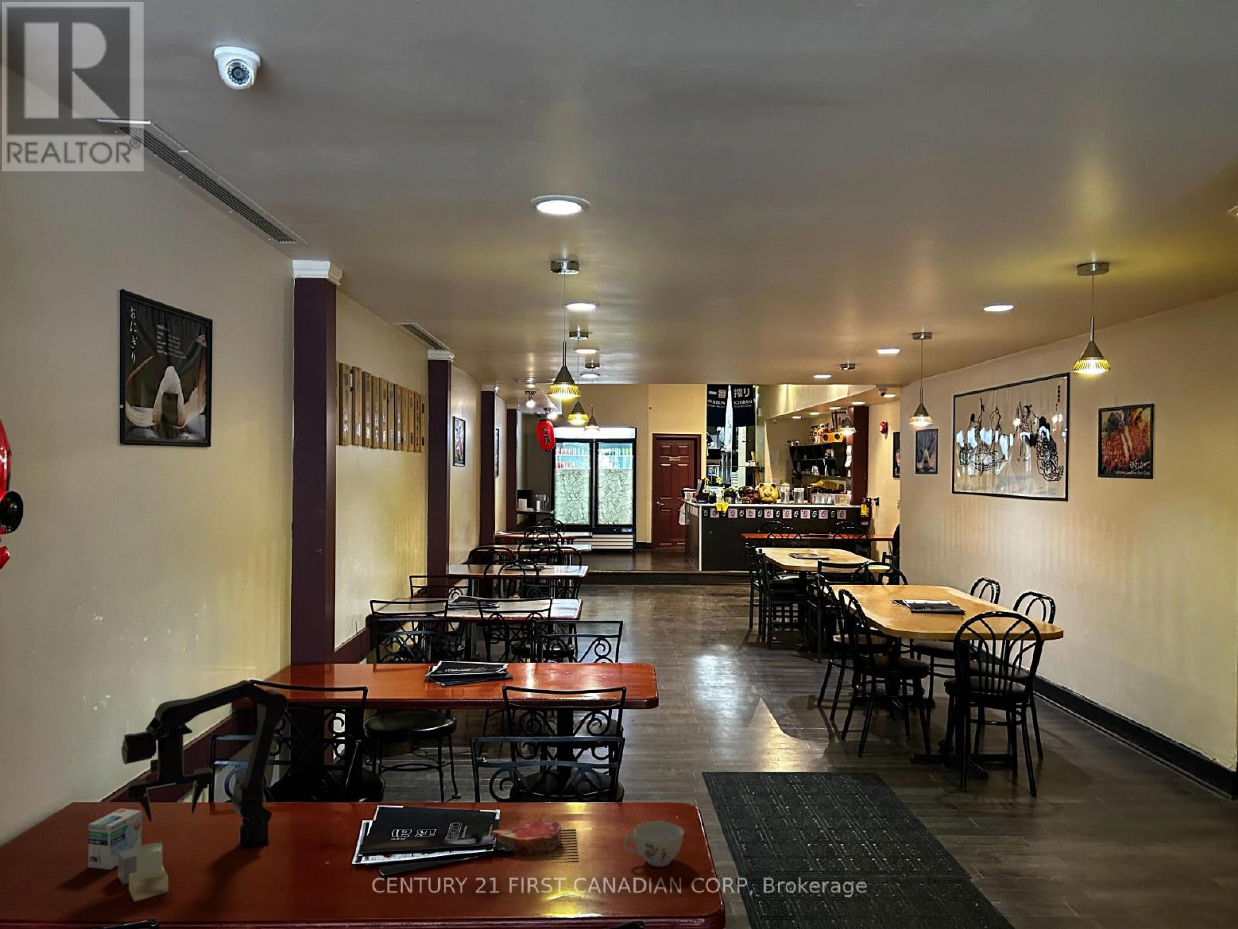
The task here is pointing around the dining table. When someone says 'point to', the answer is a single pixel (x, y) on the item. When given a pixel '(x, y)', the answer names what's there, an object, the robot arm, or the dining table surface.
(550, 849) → the steak
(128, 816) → the light bulb box
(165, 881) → the maple base
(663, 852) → the teacup
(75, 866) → the dining table surface
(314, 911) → the dining table surface
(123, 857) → the grey block
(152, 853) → the sage block
